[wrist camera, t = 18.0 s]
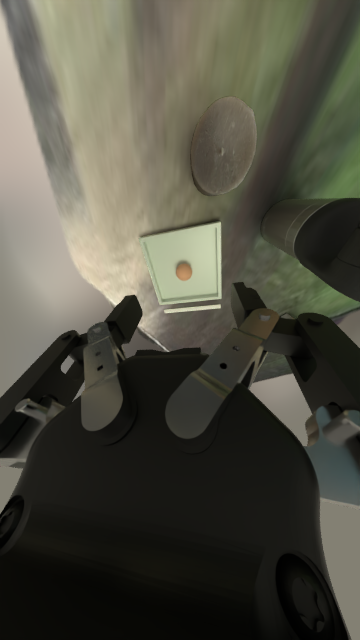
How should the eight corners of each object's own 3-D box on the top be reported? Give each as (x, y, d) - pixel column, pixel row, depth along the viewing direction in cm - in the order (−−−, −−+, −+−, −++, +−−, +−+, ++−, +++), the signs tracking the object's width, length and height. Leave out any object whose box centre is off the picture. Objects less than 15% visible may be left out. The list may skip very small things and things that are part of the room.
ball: (191, 260, 44) (190, 266, 40) (193, 275, 47) (192, 282, 43) (175, 262, 45) (173, 268, 41) (178, 277, 48) (176, 284, 44)
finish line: (220, 304, 54) (220, 304, 54) (220, 307, 55) (220, 308, 55) (164, 309, 58) (163, 309, 58) (165, 312, 59) (164, 313, 59)
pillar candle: (183, 175, 33) (176, 163, 22) (213, 115, 27) (225, 58, 16) (214, 206, 36) (222, 210, 25) (247, 158, 31) (277, 136, 19)
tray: (219, 220, 38) (220, 222, 35) (220, 294, 51) (221, 298, 49) (141, 236, 42) (138, 238, 40) (161, 300, 55) (159, 305, 53)
